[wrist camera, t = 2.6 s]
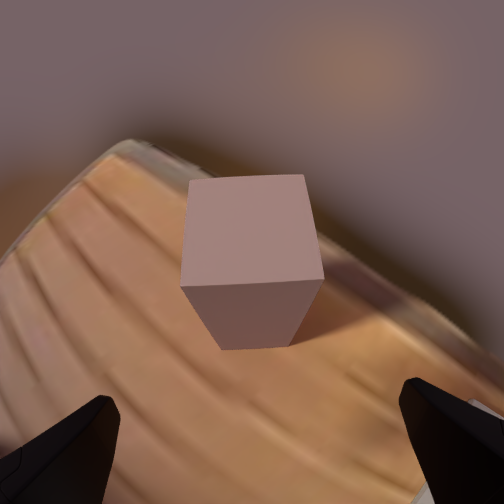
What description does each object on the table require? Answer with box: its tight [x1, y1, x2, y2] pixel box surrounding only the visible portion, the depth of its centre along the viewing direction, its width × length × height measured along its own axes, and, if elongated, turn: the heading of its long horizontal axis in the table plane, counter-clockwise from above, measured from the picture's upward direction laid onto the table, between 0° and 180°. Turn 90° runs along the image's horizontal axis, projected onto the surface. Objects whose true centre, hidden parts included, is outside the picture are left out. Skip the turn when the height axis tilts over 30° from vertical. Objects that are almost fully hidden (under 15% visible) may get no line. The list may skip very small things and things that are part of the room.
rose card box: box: [180, 175, 325, 350], centre depth 16 cm, size 5×5×12 cm
